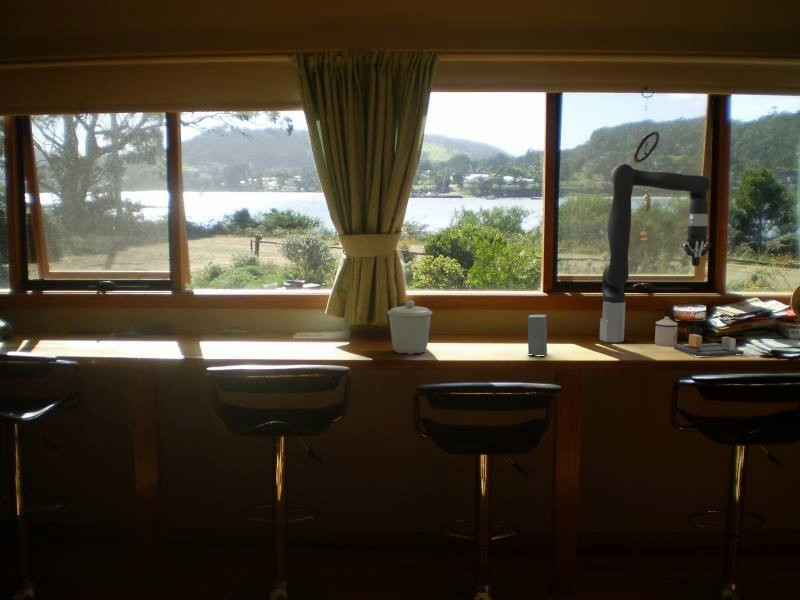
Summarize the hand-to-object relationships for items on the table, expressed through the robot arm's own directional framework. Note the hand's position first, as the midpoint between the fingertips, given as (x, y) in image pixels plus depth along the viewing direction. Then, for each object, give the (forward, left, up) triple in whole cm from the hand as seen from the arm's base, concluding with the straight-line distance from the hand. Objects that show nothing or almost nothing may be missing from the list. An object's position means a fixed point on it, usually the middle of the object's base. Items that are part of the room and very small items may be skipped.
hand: (695, 266), depth 294 cm
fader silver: (+2, -21, -31) cm, 38 cm away
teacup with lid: (-11, +2, -33) cm, 35 cm away
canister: (-121, +10, -33) cm, 126 cm away
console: (-4, -17, -33) cm, 37 cm away
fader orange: (-7, -13, -31) cm, 35 cm away
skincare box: (-73, -6, -33) cm, 80 cm away
